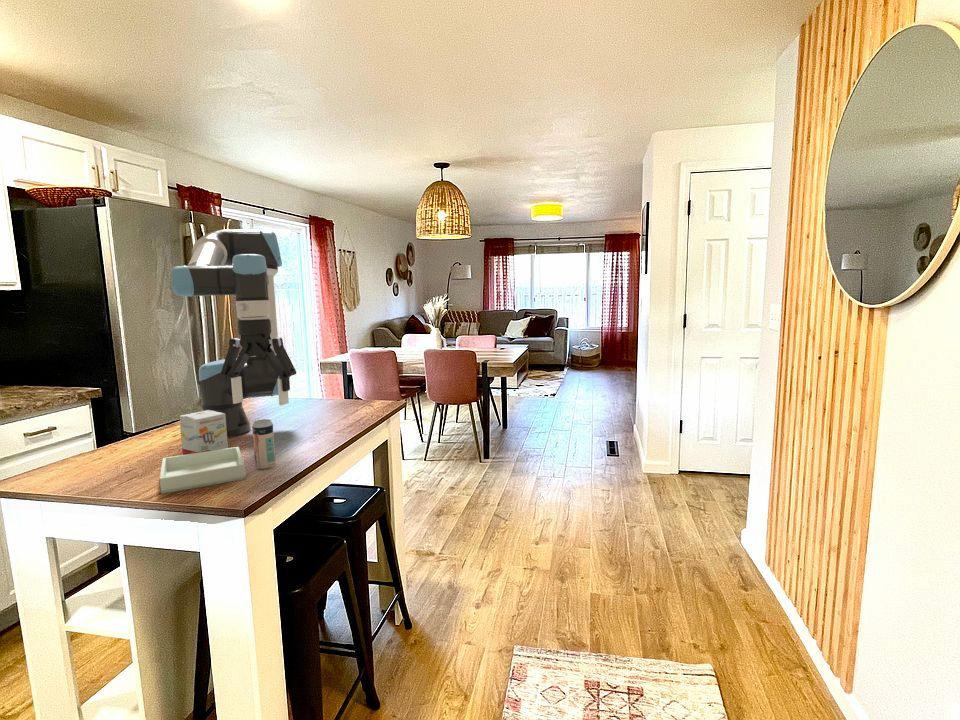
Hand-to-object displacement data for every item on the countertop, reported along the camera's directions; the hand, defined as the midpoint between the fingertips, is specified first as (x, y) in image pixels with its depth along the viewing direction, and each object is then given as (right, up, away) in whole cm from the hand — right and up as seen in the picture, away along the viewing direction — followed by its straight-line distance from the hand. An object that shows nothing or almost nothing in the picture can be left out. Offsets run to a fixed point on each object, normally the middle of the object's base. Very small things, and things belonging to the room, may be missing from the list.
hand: (260, 403), depth 131 cm
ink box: (-21, -16, +14) cm, 29 cm away
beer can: (0, -17, +2) cm, 17 cm away
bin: (-13, -17, -3) cm, 22 cm away
